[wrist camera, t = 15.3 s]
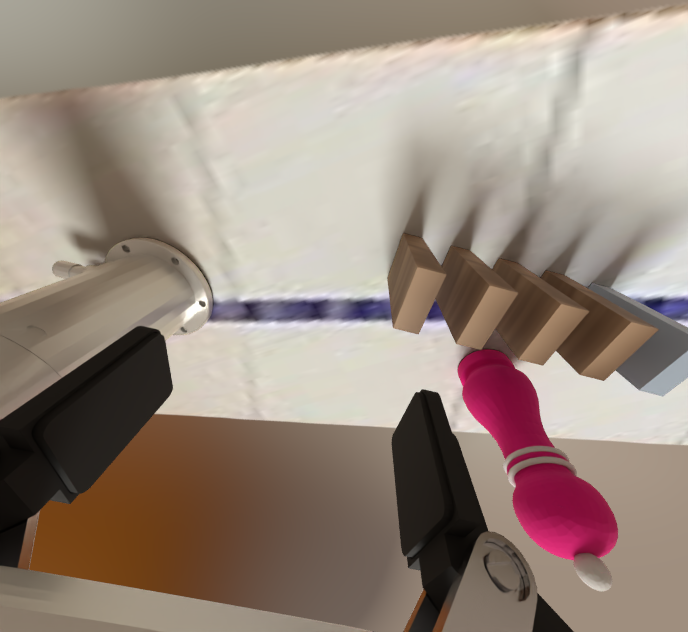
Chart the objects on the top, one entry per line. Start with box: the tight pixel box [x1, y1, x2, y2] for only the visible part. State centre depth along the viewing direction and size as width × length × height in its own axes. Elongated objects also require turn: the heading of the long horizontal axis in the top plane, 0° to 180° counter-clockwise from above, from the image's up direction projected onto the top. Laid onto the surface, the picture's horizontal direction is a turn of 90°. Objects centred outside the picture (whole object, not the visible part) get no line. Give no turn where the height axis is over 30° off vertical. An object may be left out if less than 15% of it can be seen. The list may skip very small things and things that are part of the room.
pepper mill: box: [458, 349, 618, 591], centre depth 24 cm, size 7×7×20 cm
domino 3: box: [492, 258, 589, 365], centre depth 23 cm, size 2×5×10 cm, turn 167°
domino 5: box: [588, 283, 688, 396], centre depth 23 cm, size 2×5×10 cm, turn 166°
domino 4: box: [541, 270, 659, 381], centre depth 23 cm, size 2×5×10 cm, turn 167°
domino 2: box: [435, 246, 518, 350], centre depth 22 cm, size 2×5×10 cm, turn 167°
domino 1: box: [387, 233, 447, 334], centre depth 22 cm, size 2×5×10 cm, turn 167°
